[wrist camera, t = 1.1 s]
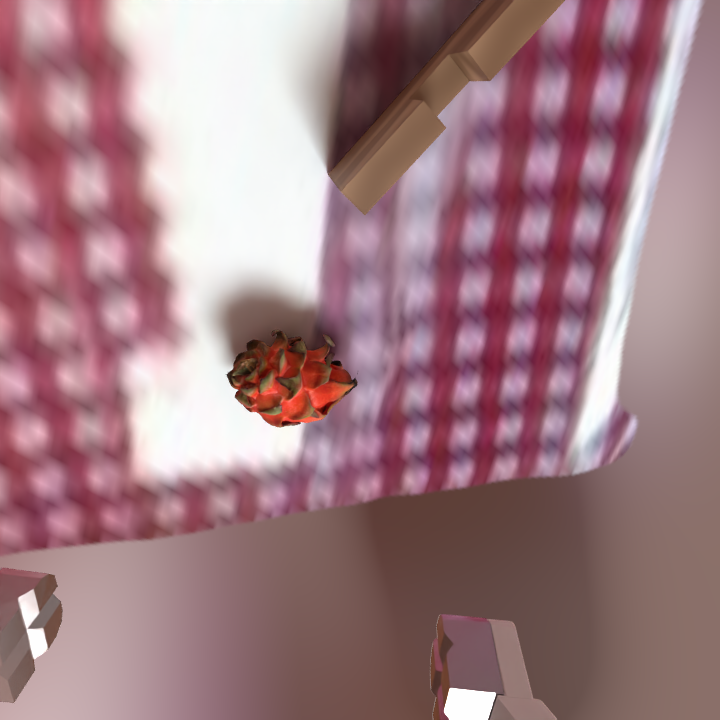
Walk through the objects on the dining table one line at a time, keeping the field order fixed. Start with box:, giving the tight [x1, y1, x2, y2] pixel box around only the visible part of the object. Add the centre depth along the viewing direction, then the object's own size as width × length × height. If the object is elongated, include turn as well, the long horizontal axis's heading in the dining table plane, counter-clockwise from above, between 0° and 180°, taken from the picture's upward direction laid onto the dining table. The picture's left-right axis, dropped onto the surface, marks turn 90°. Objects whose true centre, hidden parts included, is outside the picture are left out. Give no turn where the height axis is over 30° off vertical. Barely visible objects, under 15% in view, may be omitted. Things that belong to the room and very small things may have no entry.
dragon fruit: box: [226, 330, 358, 427], centre depth 48 cm, size 8×8×12 cm
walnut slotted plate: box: [328, 0, 565, 215], centre depth 39 cm, size 2×20×8 cm, turn 135°
